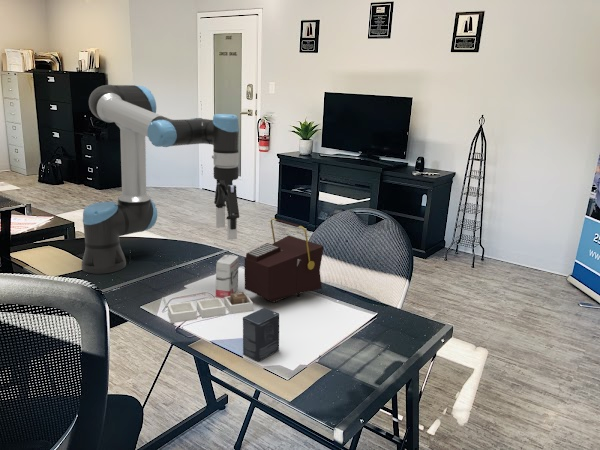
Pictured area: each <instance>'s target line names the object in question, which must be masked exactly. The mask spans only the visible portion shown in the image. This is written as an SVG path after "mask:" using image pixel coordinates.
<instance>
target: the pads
mask: <svg viewBox="0 0 600 450" xmlns="http://www.w3.org/2000/svg"><path fill="white" fill-rule="evenodd" d="M161 299H162V301H163V305H164V306H165V308H168V304H167V302H166V299H165V297H161Z"/></svg>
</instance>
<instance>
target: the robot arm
mask: <svg viewBox="0 0 600 450" xmlns="http://www.w3.org/2000/svg"><path fill="white" fill-rule="evenodd" d="M88 106H89V110H90V111H91V113H92V114H93V115H94V116H95V117H96V118H97V119H99V120H101V121H103V122H105V123H115V125H116V126H117V127H118V128H119V130H120V131H119V132H120V133H119V134H120V162H121V163H120V166H121V168H120V169H121V194H120V195H119V196H118V197H117V203H116V202H114V201H107V200H106V201H100V202H99V201H98V202H95V203H93V204H89V205H87V206H86V207H85V208H84V209H83V211H82V223H83V225H82V226H83V233H84V246H85V247H84V248H85V250H84V253H83V257H82V260H81V270H82V271H83V272H85V273H88V274H94V275H95V274H96V275H98V274H111V273H114V272H118V271H120V270H121V271H122V270H123V269H124V268H126V266H127V259H126V257H125V254H124V252H123V250H122V246H121V244H120V237H122V236H127V235H130V234H135V233H142V232H145V231H148V230H150V229H152V228H153V227H154V225H156V222H157V220H158V219H157V218H158V208H157V207H156V203H155V202H154V201H153V200H151V196H150V195H149V194H148V193H147V168H146V167H147V164H146V163H147V162H146V161H147V159H146V158H147V157H146V154H147V153H146V152H147V151H146V147H147V146H146V137H147V138H148V141H150V142H151V144H152V146H154V147H157V148H158V147H163V148H168V147H177V146H188V145H201V144H205V145H212V147H213V155H211V159H213V165H214V167H213V179H215V180H216V185H215V186H216V187H215V194H214V202H213V204H214V205H215V207H216V208H215V213H216V215H215V216H216V219H215V220H216V221H215V222H216V229H217V228H226V221H227V234H226V235H227V240H237V239H238V223H237V222H238V219H239V218H240V213H239V204H238V203H239V202H238V195H237V185H235V184H233V181H235V180H236V181H237V180H238V179H239V163H240V161H239V159H240V158H239V156H240V155H239V137H240V136H239V134H240V127H239V118H238V116H237V115H236V114H231V113H230V114H228V113H215V114H213V118H212V119H209V118H208V119H206V118H202V117H196V118H195V117H193V118H189V119H170V118H168V117H166V116H163V115H160V114H158V113H157V102H156V99H155V96H154V94H153V93H152V91H151V90H150V89H149V88H147V87H146V86H142V85H136V84H134V85H133V84H132V85H129V84H127V85H126V84H125V85H124V84H117V85H116V84H105V85H101V86H98V87H97V88H95V89H94V90H93V91H92V92H91V94H90V95H89V98H88ZM225 207H226V208H225ZM226 211H227V216H226Z"/></svg>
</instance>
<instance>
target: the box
mask: <svg viewBox="0 0 600 450" xmlns="http://www.w3.org/2000/svg"><path fill="white" fill-rule="evenodd" d="M242 351H243V352H242V354H243V355H244V357H245V356H246V357H248V358H249V359H251V360H253V361H256V362H257V363H258V362H261V361H262V360H264V359H266V358H267V357H270V356H271V355H273V354H275V353H277V352H278V351H280V313H279V312H276V311H275V310H271V309H269V308H266V307H263V308H260V309H258V310H256V311H253V312H252V313H250V314H248V315H245V316H243V317H242Z"/></svg>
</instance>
